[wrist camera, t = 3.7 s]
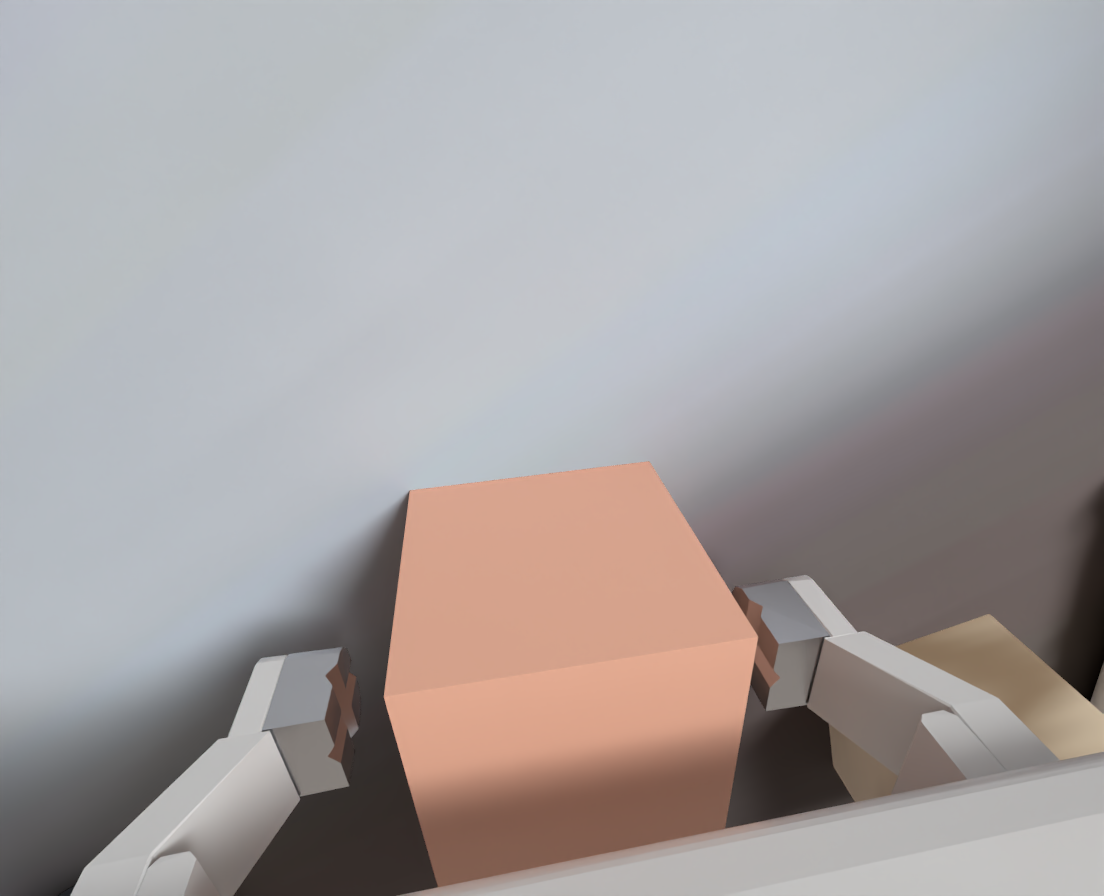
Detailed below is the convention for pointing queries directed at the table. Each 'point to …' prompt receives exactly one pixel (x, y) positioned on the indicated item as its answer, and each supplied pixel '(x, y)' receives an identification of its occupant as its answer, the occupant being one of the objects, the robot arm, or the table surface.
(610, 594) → the terracotta block
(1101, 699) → the knuckle duster
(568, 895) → the robot arm
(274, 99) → the table surface
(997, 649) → the maple block
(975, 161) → the table surface
